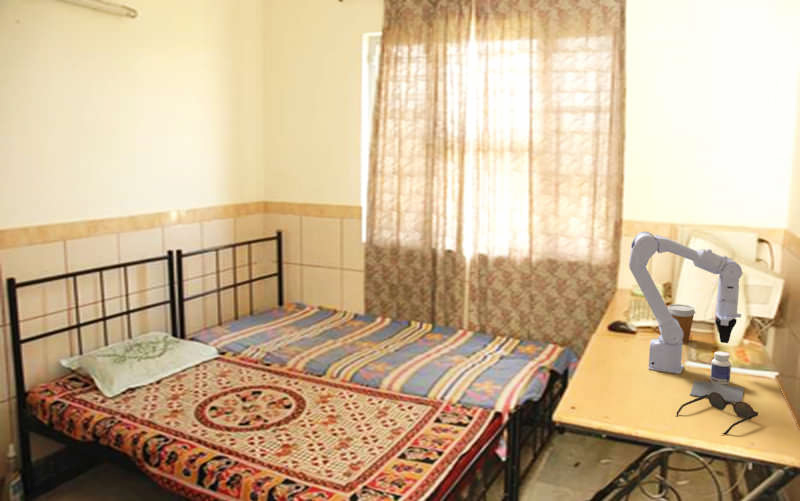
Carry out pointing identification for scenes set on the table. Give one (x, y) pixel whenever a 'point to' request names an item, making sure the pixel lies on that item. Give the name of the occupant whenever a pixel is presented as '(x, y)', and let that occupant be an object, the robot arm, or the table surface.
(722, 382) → the pill bottle
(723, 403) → the eyeglasses
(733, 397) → the desk mat
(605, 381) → the table surface
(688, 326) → the disposable coffee cup
